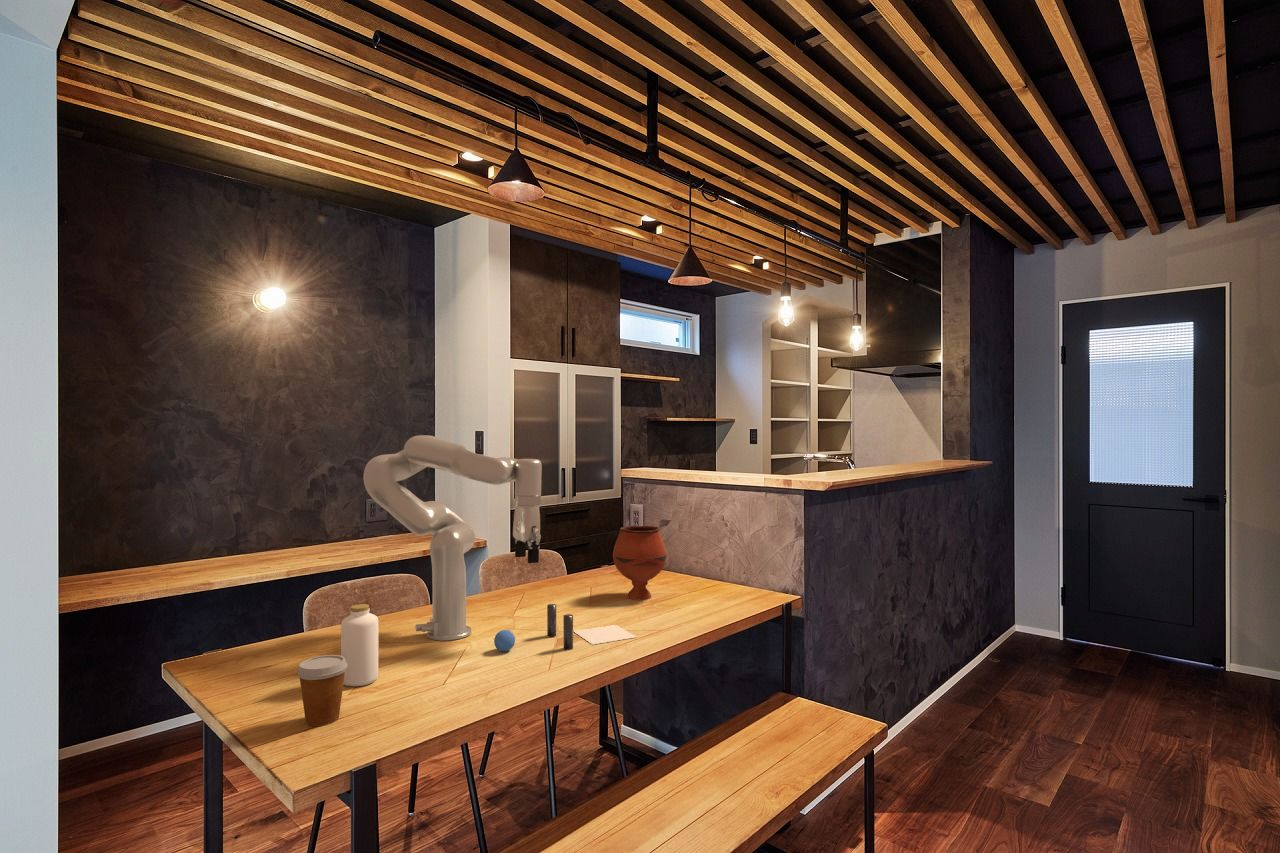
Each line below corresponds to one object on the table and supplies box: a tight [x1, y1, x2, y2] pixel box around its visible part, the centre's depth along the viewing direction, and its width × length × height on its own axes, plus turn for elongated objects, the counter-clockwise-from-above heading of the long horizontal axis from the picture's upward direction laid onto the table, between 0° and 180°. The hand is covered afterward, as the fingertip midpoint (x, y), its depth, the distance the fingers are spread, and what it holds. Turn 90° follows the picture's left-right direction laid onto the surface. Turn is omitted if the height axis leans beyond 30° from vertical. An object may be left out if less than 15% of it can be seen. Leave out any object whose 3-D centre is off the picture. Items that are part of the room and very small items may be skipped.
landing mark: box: [573, 624, 638, 646], centre depth 196 cm, size 14×14×1 cm
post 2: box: [563, 613, 574, 651], centre depth 183 cm, size 3×3×9 cm
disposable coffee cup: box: [296, 654, 348, 727], centre depth 139 cm, size 10×10×12 cm
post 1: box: [546, 603, 557, 638], centre depth 195 cm, size 3×3×9 cm
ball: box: [493, 629, 516, 652], centre depth 181 cm, size 6×6×6 cm
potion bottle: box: [340, 603, 379, 688], centre depth 160 cm, size 8×8×18 cm
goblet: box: [612, 525, 667, 601], centre depth 240 cm, size 19×19×25 cm
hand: (526, 559), depth 195 cm, fingers open, 9 cm apart
